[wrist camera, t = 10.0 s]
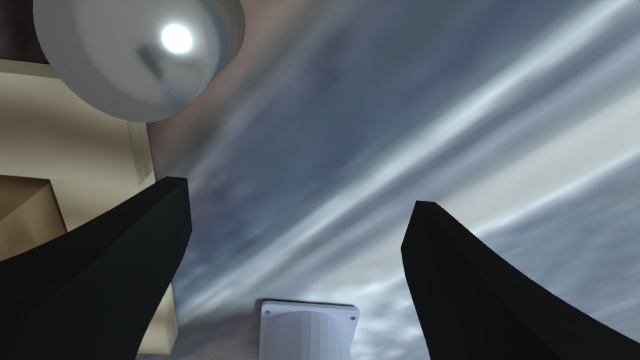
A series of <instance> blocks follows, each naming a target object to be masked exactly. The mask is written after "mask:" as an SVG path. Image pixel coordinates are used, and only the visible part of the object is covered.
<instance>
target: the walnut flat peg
mask: <svg viewBox="0 0 640 360" xmlns="http://www.w3.org/2000/svg"><path fill="white" fill-rule="evenodd" d="M67 232H68V230H67V228H66V225H65V222H64V219H63V216H62V213H61V210H60V207H59V204H58V201H57V199H56V196H55V193H54V190H53V187H52V184H51V181H50V179H43V178H32V177H21V176H11V175H0V261H2V260H5V259H8V258H10V257H13V256H15V255H18V254H20V253H23V252H25V251H28V250H30V249H32V248H34V247H37V246H39V245H41V244H43V243H46V242H48V241H50V240H52V239H54V238H57V237H59V236H61V235H63V234H65V233H67Z"/></svg>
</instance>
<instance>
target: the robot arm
mask: <svg viewBox="0 0 640 360" xmlns="http://www.w3.org/2000/svg"><path fill="white" fill-rule="evenodd" d="M191 232H192V223H191V213H190V202H189V192H188V181H187V178H179V177H168V176H167V177H165V178H163V179H161V180H159V181H157V182H156V183H154V184H152V185H150V186H149V187H147V188H145V189H144V190H142V191H141V192H139V193H137V194H136V195H134V196H132V197H131V198H129V199H127V200H125V201H124V202H122V203H120V204H119V205H117V206H115V207H114V208H112V209H110V210H108V211H107V212H105V213H103V214H101V215H99V216H97V217H95V218H94V219H92V220H90V221H88V222H86V223H84V224H82V225H81V226H79V227H77V228H75V229H73V230H71V231H69V232H67V233H65V234H63V235H61V236H59V237H57V238H54V239H52V240H50V241H48V242H46V243H43V244H41V245H39V246H37V247H34V248H32V249H30V250H28V251H25V252H23V253H20V254H18V255H15V256H13V257H10V258H8V259H5V260H2V261H0V360H135V358H136V355H137V353H138V350H139V348H140V345H141V342H142V340H143V337H144V335H145V333H146V331H147V329H148V326H149V324H150V322H151V320H152V318H153V316H154V314H155V312H156V310H157V308H158V306H159V304H160V302H161V301H162V299H163V297H164V295H165V293H166V291H167V289H168V287H169V285H170V283H171V281H172V279H173V277H174V275H175V273H176V271H177V269H178V267H179V265H180V263H181V261H182V259H183V256H184V253H185V250H186V248H187V245H188V242H189V239H190V235H191ZM401 254H402V260H403V266H404V272H405V277H406V280H407V283H408V287H409V290H410V293H411V296H412V300H413V303H414V306H415V309H416V312H417V315H418V318H419V321H420V325H421V328H422V331H423V334H424V337H425V340H426V344H427V347H428V351H429V355H430V359H431V360H640V343H638V342H636V341H634V340H632V339H630V338H628V337H627V336H625V335H623V334H621V333H619V332H617V331H615V330H613V329H612V328H610V327H608V326H606V325H604V324H602V323H601V322H599V321H597V320H595V319H594V318H592V317H590V316H588V315H587V314H585V313H583V312H582V311H580V310H578V309H577V308H575V307H573V306H571V305H570V304H568V303H566V302H565V301H563V300H562V299H560V298H558V297H557V296H555V295H554V294H552V293H551V292H549V291H548V290H546V289H545V288H543V287H542V286H540V285H539V284H537V283H536V282H534V281H533V280H531V279H530V278H528V277H527V276H526V275H524V274H523V273H521V272H520V271H519V270H517V269H516V268H515V267H513V266H512V265H511V264H509V263H508V262H507V261H505V260H504V259H503V258H502V257H500V256H499V255H498V254H496V253H495V252H494V251H493V250H491V249H490V248H489V247H488V246H487V245H485V244H484V243H483V242H482V241H481V240H479V239H478V238H477V237H476V236H475V235H473V234H472V233H471V232H470V231H469V230H468V229H466V228H465V227H464V226H463V225H462V224H461V223H460V222H458V221H457V220H456V219H455V218H454V217H453V216H451V215H450V214H449V213H448V212H447V211H446V210H444V209H443V208H442V207H441V206H439V205H438V204H437V203H435V202H427V201H417V200H416V203H415V206H414V209H413V212H412V215H411V218H410V221H409V224H408V227H407V230H406V233H405V236H404V239H403V242H402V245H401ZM267 310H268V311H267ZM359 315H360V312H359V309H358V308H357V307H349V306H335V305H321V304H307V303H293V302H279V301H264V302H263V303H262V306H261V324H260V344H259V360H351V358H350V347H351V343H352V340H353V336H354V333H355V329H356V326H357V322H358V319H359Z"/></svg>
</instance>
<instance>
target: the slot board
mask: <svg viewBox="0 0 640 360" xmlns="http://www.w3.org/2000/svg"><path fill="white" fill-rule="evenodd" d="M0 175H11V176H21V177H32V178H43V179H50V181H51V184H52V187H53V190H54V193H55V196H56V199H57V201H58V204H59V207H60V210H61V213H62V216H63V219H64V222H65V225H66V228H67V230H68V232H69V231H71V230H73V229H75V228H77V227H79V226H81V225H82V224H84V223H86V222H88V221H90V220H92V219H94V218H95V217H97V216H99V215H101V214H103V213H105V212H107V211H108V210H110V209H112V208H114V207H115V206H117V205H119V204H120V203H122V202H124V201H125V200H127V199H129V198H131V197H132V196H134V195H136V194H137V193H139V192H141V191H142V190H144V189H145V188H147V187H149V186H150V185H152V184H154V183H155V177H154V171H153V164H152V158H151V151H150V145H149V138H148V132H147V125H146V123H143V122H132V121H126V120H122V119H118V118H115V117H113V116H110V115H107V114H105V113H103V112H101V111H99V110H97V109H95V108H94V107H92V106H91V105H89V104H88V103H86V102H85V101H83V100H82V99H81V98H79V97H78V96H77V95H76V94H75V93H74V92H73V91H71V90H70V89H69V88H68V87H67V86H66V85H65V83H64V82H63V81H62V80H61V79H60V78H59V76H58V75H57V74H56V72H55V71H54V70H53V68H52V67H51V65H48V64H40V63H31V62H23V61H14V60H6V59H0ZM178 333H179V332H178V325H177V319H176V312H175V306H174V299H173V293H172V287H171V283H170V285H169V287H168V289H167V291H166V293H165V295H164V297H163V299H162V301H161V302H160V304H159V306H158V308H157V310H156V312H155V314H154V316H153V318H152V320H151V322H150V324H149V326H148V329H147V331H146V333H145V335H144V337H143V340H142V342H141V345H140V348H139V350H138V353H146V354H164V355H170V354H171V351H172V349H173V346H174V343H175V341H176V338H177V335H178Z"/></svg>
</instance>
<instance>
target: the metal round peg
mask: <svg viewBox="0 0 640 360" xmlns="http://www.w3.org/2000/svg"><path fill="white" fill-rule="evenodd" d="M33 18H34V25H35V30H36V34H37V37H38V40H39V43H40V46H41V48H42V50H43V52H44V54H45V57H46V59H47V60H48V62H49V63H50V65H51V67H52V68H53V70H54V71H55V72H56V74H57V75H58V76H59V78H60V79H61V80H62V81H63V82H64V83H65V85H66V86H67V87H68V88H69V89H70V90H71V91H73V92H74V93H75V94H76V95H77V96H78V97H79V98H81V99H82V100H83V101H85V102H86V103H88V104H89V105H91V106H92V107H94V108H95V109H97V110H99V111H101V112H103V113H105V114H107V115H110V116H113V117H115V118H118V119H122V120H126V121H132V122H143V123H147V122H157V121H161V120H165V119H168V118H170V117H173V116H175V115H176V114H178V113H180V112H181V111H182V110H184V109H185V108H186V107H187V106H188V105H189V104H190V103H191V102H192V101H193V100H194V99H195V98H196V97H197V96H198V95H199V94H200V93H201V92H202V91H203V90H204V89H205V88H206V87H207V86H208V85H209V84H210V83H211V82H212V81H213V80H214V79H215V78H216V76H217V75H218V74H219V73H220V72H221V71H222V70H223V69H224V68H225V67H226V66H227V65H228V64H229V63H230V62H231V61H232V60H233V59H234V58H235V57H236V55H237V54H238V52H239V50H240V48H241V46H242V43H243V40H244V34H245V18H244V13H243V9H242V6H241V3H240V1H239V0H33Z"/></svg>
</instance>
